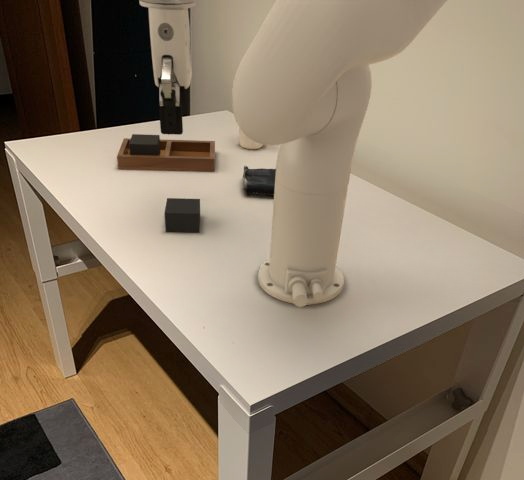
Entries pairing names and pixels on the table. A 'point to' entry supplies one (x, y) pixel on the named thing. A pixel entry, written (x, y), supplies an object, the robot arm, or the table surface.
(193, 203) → the pad right
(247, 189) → the electronic device
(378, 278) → the table surface
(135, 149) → the pad left
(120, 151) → the wooden tray
